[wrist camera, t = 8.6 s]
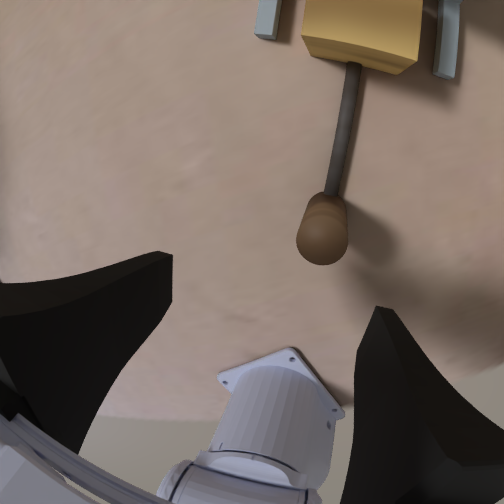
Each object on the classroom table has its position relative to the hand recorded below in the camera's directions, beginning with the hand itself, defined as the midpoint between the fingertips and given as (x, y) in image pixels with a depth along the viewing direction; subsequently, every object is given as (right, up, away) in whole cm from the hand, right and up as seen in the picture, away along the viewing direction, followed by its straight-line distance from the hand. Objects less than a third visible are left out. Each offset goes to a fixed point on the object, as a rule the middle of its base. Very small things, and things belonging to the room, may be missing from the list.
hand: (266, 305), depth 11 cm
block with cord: (+5, +10, +5) cm, 12 cm away
